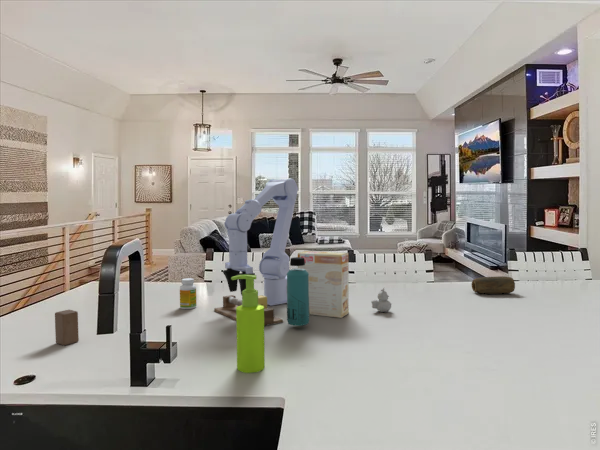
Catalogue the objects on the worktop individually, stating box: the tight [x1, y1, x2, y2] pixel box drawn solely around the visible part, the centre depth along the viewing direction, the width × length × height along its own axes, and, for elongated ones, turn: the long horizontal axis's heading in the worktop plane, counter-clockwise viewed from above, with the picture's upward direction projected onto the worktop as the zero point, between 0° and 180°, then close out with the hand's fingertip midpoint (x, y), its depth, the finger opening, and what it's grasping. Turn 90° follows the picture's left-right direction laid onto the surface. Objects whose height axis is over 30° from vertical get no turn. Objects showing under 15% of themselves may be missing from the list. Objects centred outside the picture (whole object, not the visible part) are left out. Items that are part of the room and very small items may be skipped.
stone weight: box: [471, 275, 516, 295], centre depth 166 cm, size 15×7×7 cm, turn 93°
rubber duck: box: [371, 287, 392, 313], centre depth 140 cm, size 5×7×8 cm
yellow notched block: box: [258, 294, 268, 309], centre depth 130 cm, size 3×6×6 cm, turn 127°
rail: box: [213, 294, 284, 327], centre depth 135 cm, size 25×10×4 cm, turn 37°
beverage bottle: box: [286, 256, 310, 327], centre depth 122 cm, size 6×7×20 cm
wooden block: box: [54, 309, 80, 346], centre depth 110 cm, size 4×4×8 cm
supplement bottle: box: [179, 277, 197, 310], centre depth 146 cm, size 5×5×10 cm
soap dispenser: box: [231, 274, 266, 374], centre depth 92 cm, size 6×7×20 cm
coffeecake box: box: [297, 250, 350, 319], centre depth 138 cm, size 15×7×20 cm, turn 65°
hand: (238, 293), depth 139 cm, fingers open, 7 cm apart
